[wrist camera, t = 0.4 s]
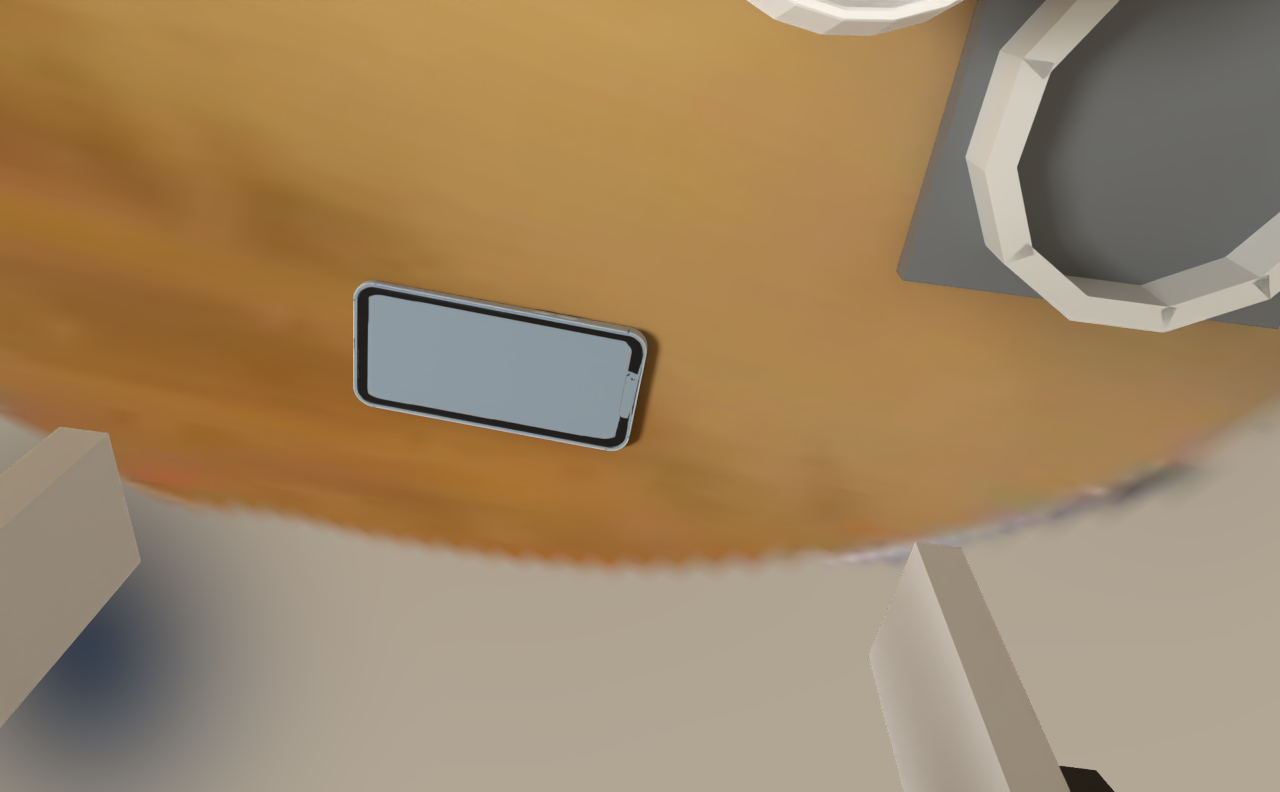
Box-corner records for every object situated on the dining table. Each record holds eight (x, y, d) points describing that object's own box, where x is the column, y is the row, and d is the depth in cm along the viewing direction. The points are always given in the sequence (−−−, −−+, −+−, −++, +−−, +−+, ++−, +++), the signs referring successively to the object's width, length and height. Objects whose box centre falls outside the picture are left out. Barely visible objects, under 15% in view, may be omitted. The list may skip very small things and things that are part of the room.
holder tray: (1015, -124, 30) (1054, -131, 27) (1474, -59, 31) (1567, -58, 27) (896, 270, 38) (916, 301, 35) (1261, 318, 39) (1314, 353, 35)
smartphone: (353, 278, 39) (650, 335, 40) (360, 271, 40) (651, 327, 41) (353, 404, 43) (625, 455, 43) (359, 395, 44) (627, 445, 44)
